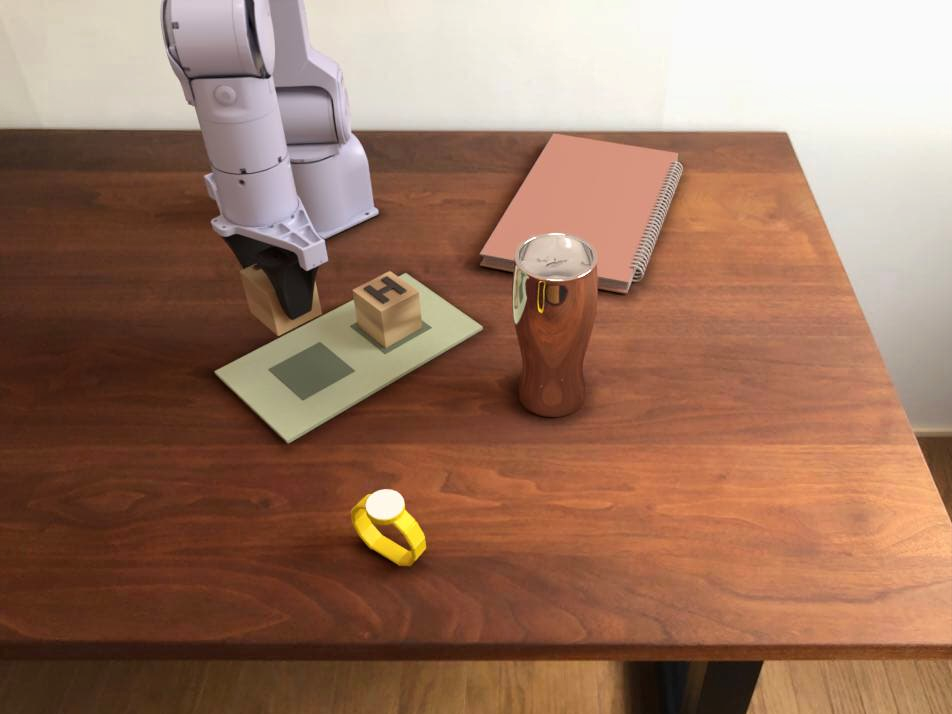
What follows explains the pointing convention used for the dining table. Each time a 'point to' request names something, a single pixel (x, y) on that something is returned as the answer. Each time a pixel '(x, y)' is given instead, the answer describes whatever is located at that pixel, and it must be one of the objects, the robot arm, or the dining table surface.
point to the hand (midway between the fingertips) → (283, 300)
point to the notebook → (591, 205)
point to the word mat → (337, 364)
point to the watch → (386, 511)
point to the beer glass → (554, 319)
